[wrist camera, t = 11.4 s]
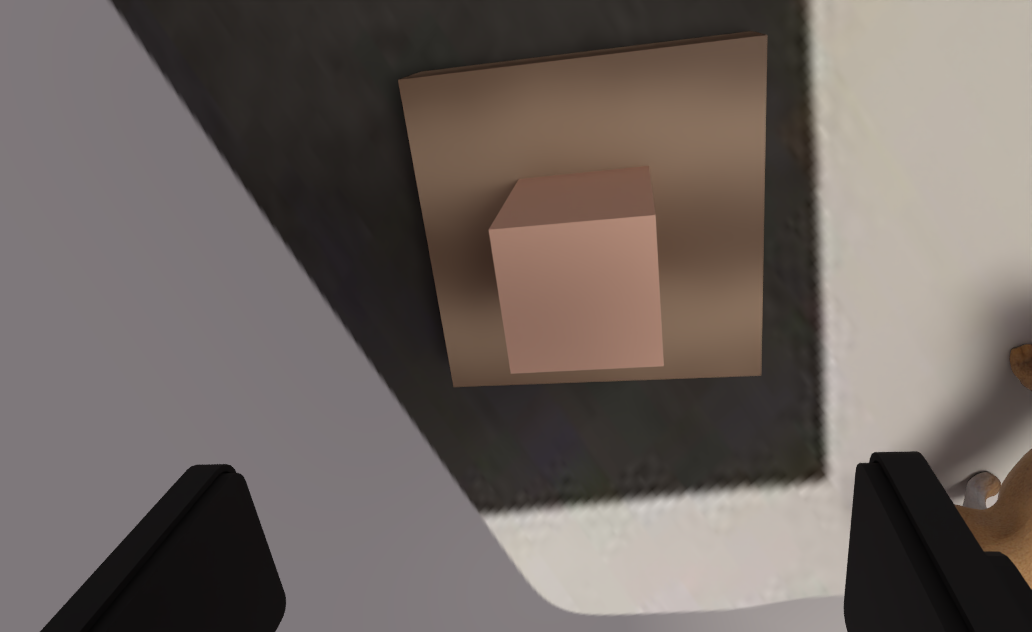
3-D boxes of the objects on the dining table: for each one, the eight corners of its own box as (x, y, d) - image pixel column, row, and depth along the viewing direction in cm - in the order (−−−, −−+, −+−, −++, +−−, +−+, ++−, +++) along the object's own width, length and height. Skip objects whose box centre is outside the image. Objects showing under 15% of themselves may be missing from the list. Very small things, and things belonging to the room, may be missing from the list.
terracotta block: (518, 178, 25) (488, 229, 19) (648, 165, 24) (655, 214, 18) (534, 296, 26) (510, 373, 21) (656, 288, 26) (664, 366, 20)
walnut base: (421, 71, 26) (398, 79, 24) (751, 31, 24) (767, 35, 22) (468, 353, 31) (453, 387, 28) (748, 340, 29) (761, 375, 26)
